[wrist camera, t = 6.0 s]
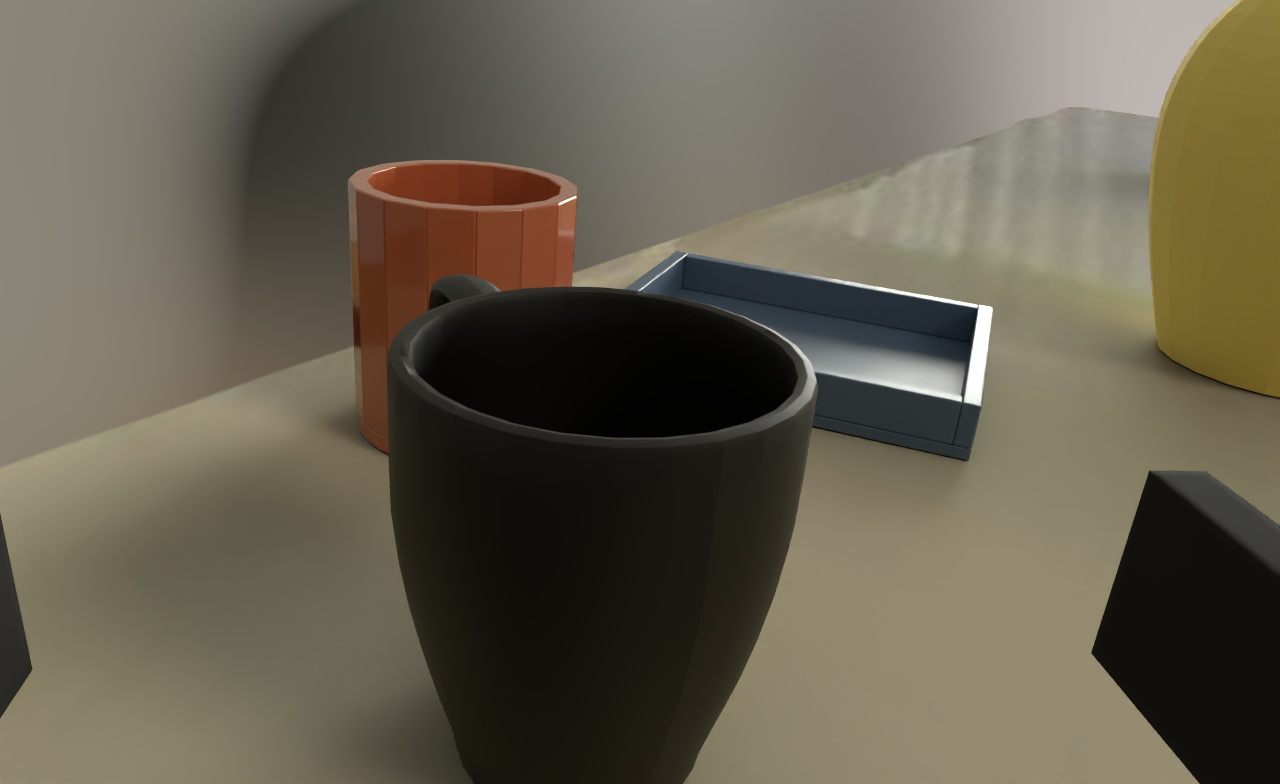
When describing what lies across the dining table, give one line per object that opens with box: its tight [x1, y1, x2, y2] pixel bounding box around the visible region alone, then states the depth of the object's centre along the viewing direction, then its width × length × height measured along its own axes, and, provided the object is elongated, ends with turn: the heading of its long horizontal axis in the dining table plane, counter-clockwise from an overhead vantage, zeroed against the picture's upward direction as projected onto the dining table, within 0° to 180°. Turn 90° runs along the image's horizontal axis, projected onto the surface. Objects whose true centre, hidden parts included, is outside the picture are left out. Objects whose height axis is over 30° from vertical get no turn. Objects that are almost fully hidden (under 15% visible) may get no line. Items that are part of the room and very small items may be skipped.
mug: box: [387, 274, 818, 784], centre depth 22 cm, size 8×12×10 cm
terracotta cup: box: [348, 160, 577, 454], centre depth 36 cm, size 8×8×9 cm
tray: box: [624, 251, 993, 460], centre depth 45 cm, size 16×13×2 cm
